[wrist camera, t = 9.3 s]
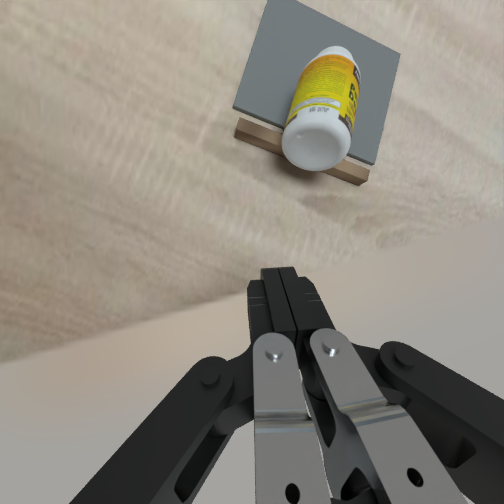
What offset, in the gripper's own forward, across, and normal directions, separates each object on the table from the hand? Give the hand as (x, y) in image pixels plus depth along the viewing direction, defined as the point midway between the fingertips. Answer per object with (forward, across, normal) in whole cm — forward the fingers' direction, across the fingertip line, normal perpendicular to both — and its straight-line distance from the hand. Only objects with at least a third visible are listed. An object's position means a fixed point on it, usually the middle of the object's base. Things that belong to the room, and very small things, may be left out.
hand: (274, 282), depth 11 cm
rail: (+16, -6, -3) cm, 17 cm away
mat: (+22, -9, -9) cm, 25 cm away
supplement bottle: (+11, -5, -4) cm, 13 cm away
